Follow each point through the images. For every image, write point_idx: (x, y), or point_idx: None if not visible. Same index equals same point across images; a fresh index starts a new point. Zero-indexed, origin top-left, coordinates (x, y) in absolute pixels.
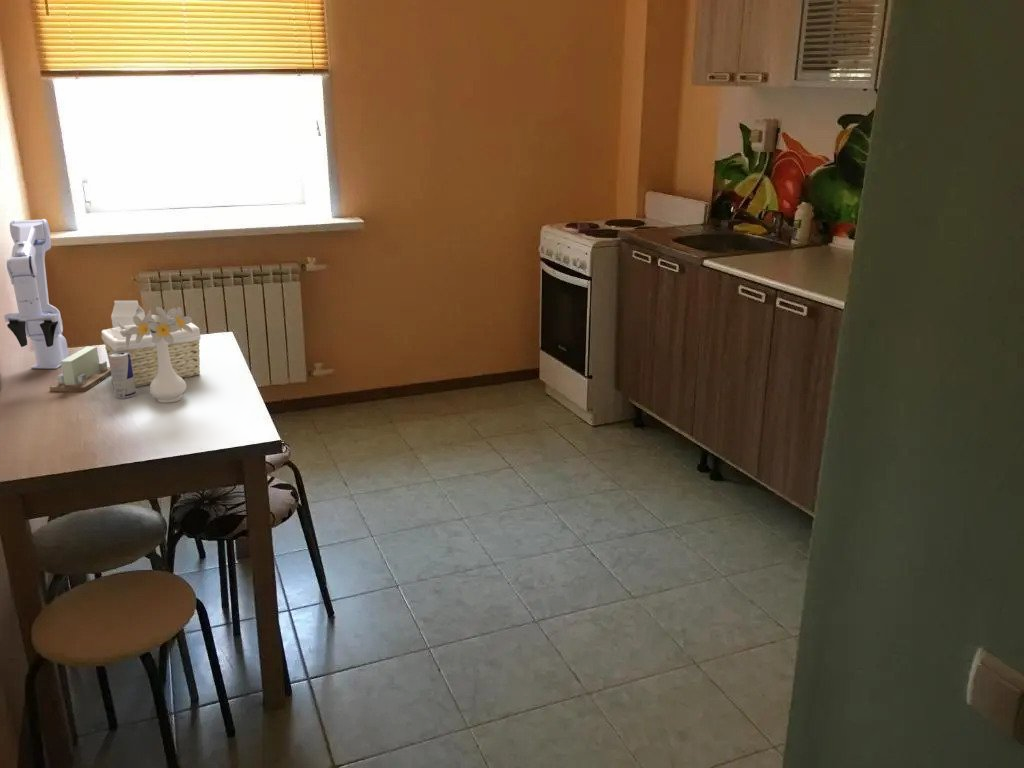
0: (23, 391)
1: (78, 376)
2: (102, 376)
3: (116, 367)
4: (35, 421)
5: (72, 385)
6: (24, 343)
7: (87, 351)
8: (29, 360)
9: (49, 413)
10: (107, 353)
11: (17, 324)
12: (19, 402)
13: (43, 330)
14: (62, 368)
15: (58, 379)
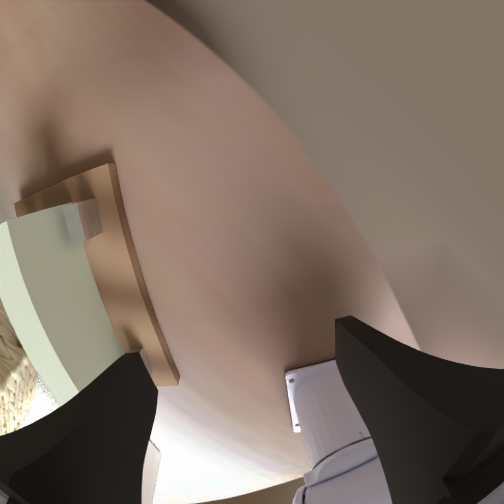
0: (217, 130)
1: None
2: None
3: None
4: (35, 2)
5: (50, 206)
6: (342, 351)
7: (40, 375)
8: None
9: (24, 40)
10: (3, 366)
11: (444, 475)
12: (145, 41)
13: (50, 438)
14: (28, 214)
15: (81, 202)
